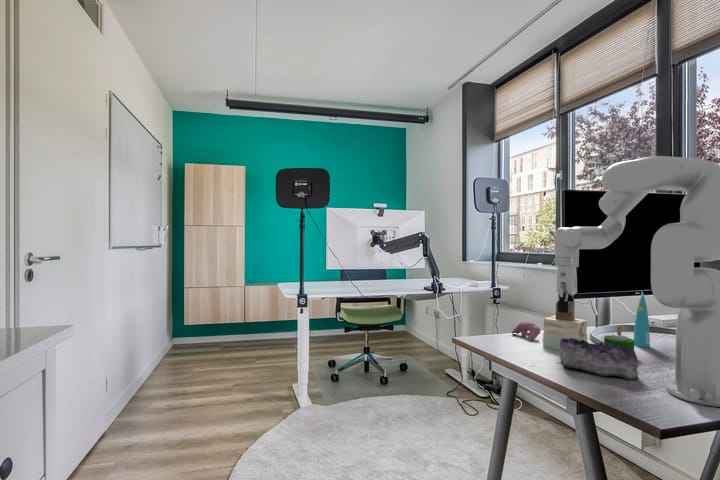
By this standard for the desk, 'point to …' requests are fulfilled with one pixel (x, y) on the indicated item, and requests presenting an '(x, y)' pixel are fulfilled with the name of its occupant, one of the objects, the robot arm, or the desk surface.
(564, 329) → the cream wooden block
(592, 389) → the desk surface
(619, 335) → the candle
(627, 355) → the geode
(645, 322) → the tube
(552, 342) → the tower base
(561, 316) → the walnut block
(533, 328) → the pink animal figurine
